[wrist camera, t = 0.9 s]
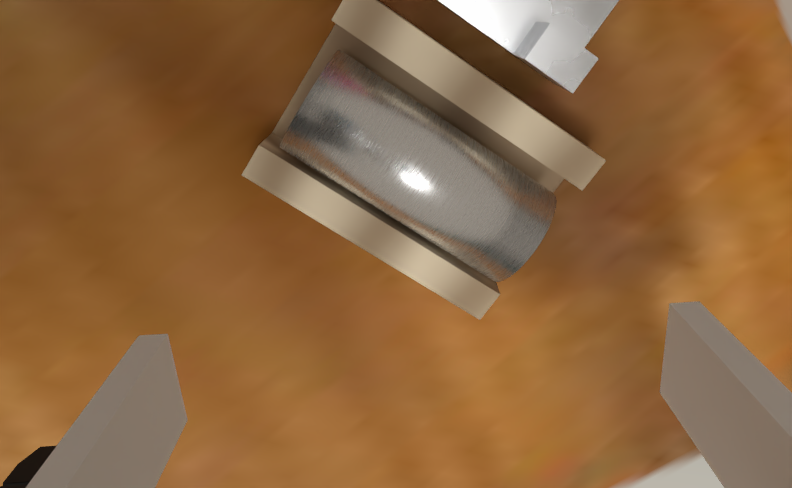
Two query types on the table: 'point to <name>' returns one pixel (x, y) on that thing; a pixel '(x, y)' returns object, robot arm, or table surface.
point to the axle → (419, 169)
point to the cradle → (541, 32)
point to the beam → (449, 99)
